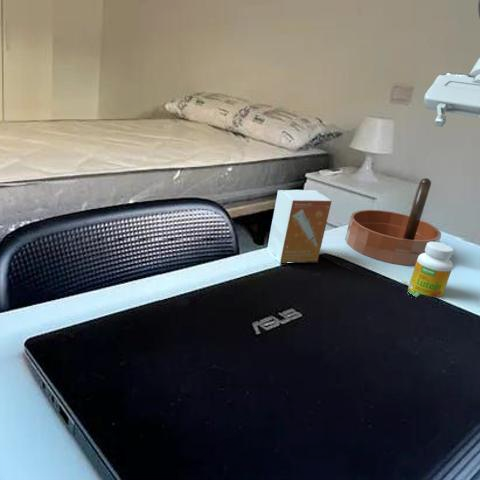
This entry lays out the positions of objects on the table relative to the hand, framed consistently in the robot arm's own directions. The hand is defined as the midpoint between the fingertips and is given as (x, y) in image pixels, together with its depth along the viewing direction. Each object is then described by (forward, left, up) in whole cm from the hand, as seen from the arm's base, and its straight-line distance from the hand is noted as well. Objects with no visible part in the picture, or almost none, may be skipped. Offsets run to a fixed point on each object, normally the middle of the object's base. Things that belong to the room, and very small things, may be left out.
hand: (462, 128), depth 101 cm
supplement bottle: (-10, +27, -26) cm, 39 cm away
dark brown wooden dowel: (0, +12, -25) cm, 27 cm away
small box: (+13, +33, -26) cm, 44 cm away
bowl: (+3, +12, -25) cm, 28 cm away
